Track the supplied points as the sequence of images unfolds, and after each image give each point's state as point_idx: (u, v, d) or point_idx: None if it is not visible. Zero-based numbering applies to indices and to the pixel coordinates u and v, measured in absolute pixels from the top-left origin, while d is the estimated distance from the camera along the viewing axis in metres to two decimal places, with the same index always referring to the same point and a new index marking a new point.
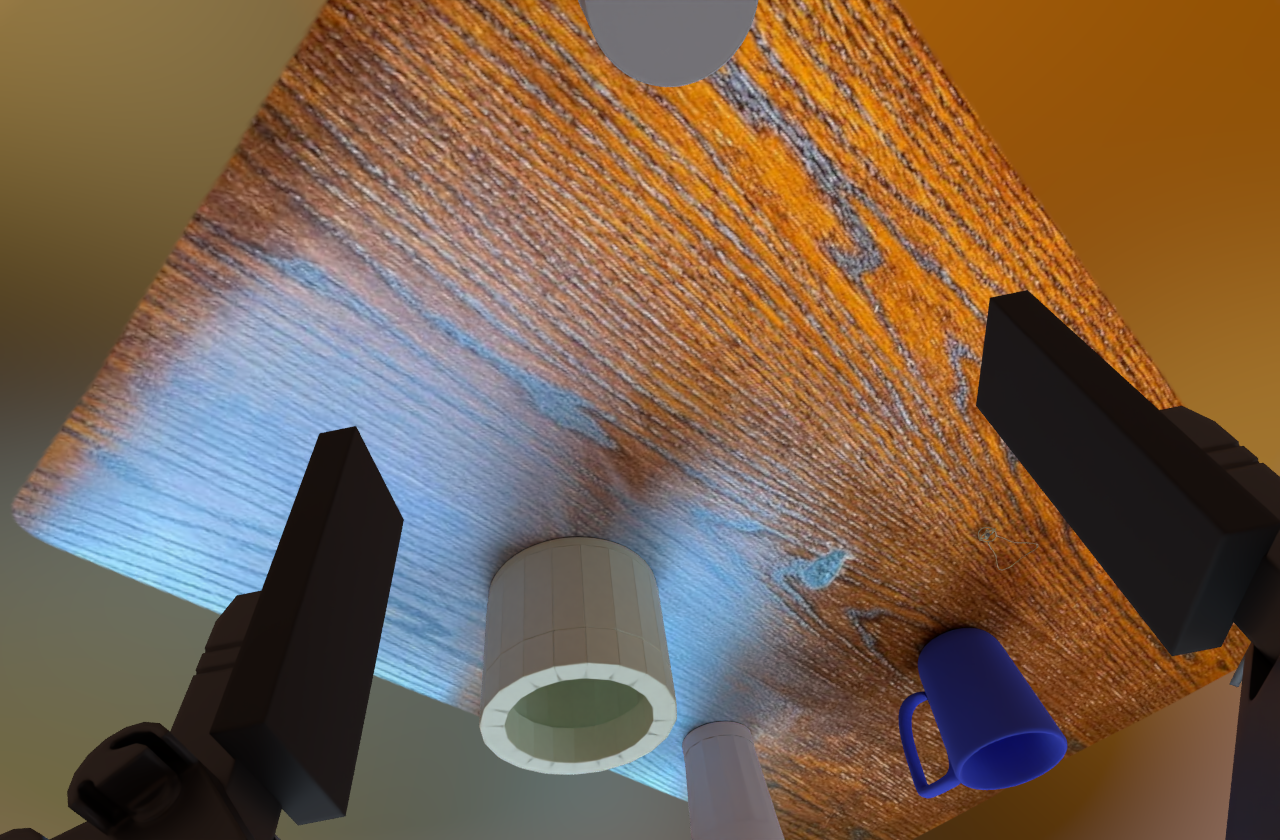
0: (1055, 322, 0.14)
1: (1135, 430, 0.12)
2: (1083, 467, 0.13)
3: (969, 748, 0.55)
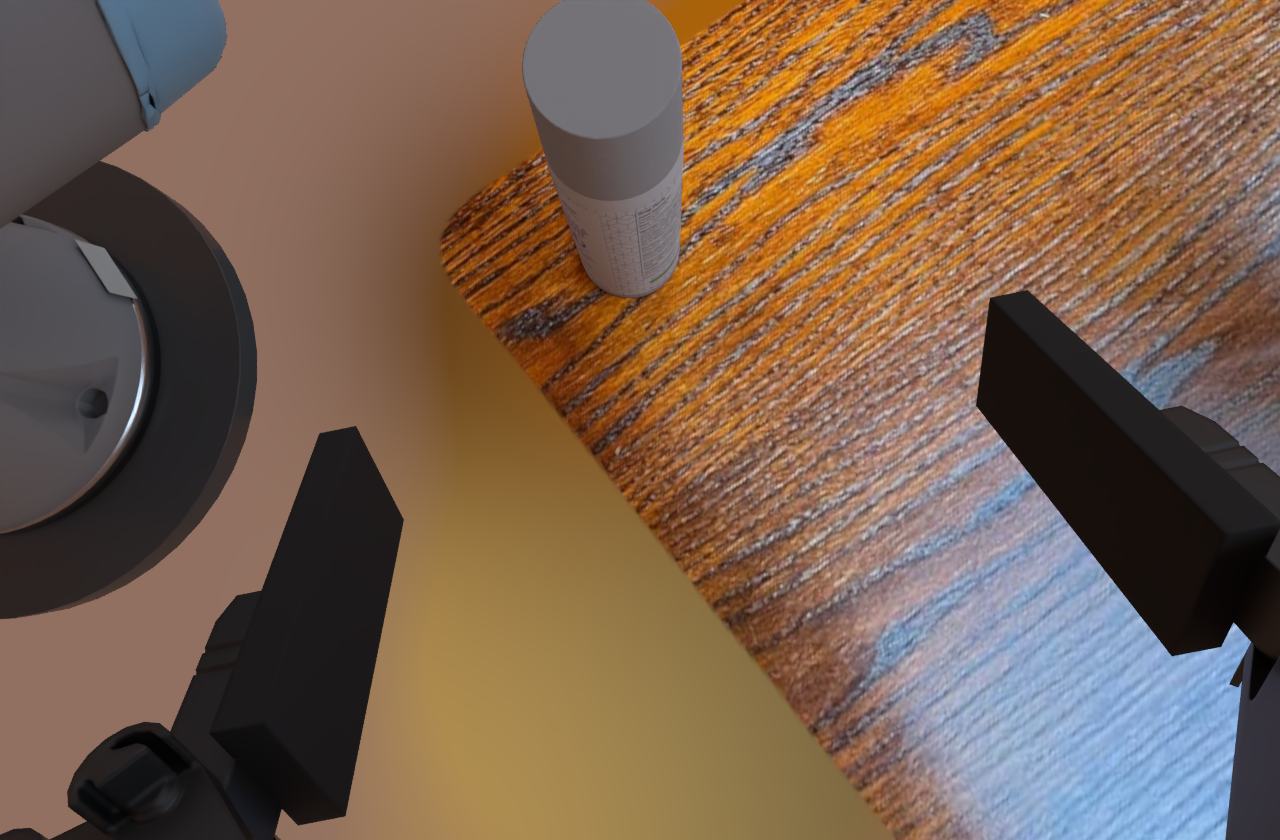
0: (1055, 322, 0.14)
1: (1135, 430, 0.12)
2: (1083, 467, 0.13)
3: None
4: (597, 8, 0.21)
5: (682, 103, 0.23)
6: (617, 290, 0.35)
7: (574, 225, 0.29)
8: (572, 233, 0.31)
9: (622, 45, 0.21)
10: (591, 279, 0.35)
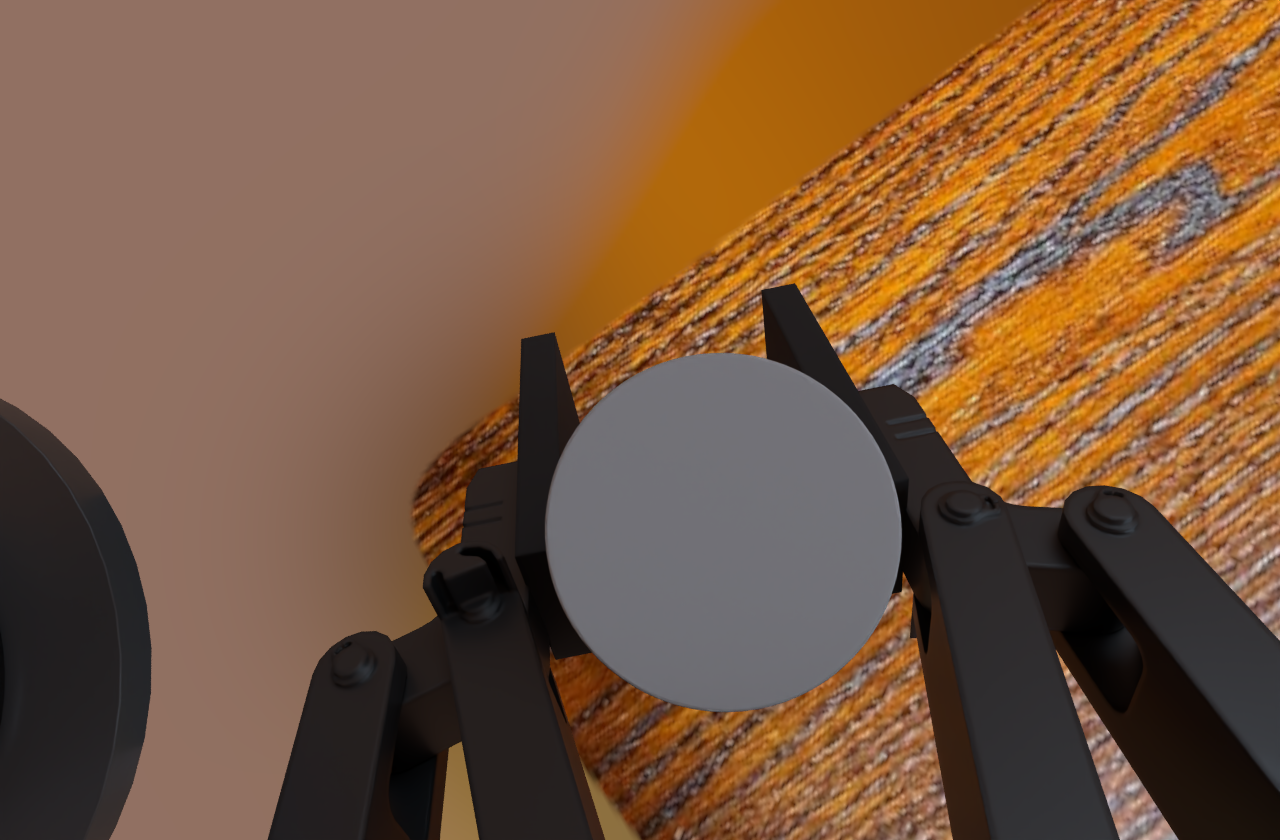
0: (805, 311, 0.16)
1: None
2: None
3: None
4: (708, 397, 0.10)
5: None
6: None
7: None
8: None
9: (767, 486, 0.09)
10: None
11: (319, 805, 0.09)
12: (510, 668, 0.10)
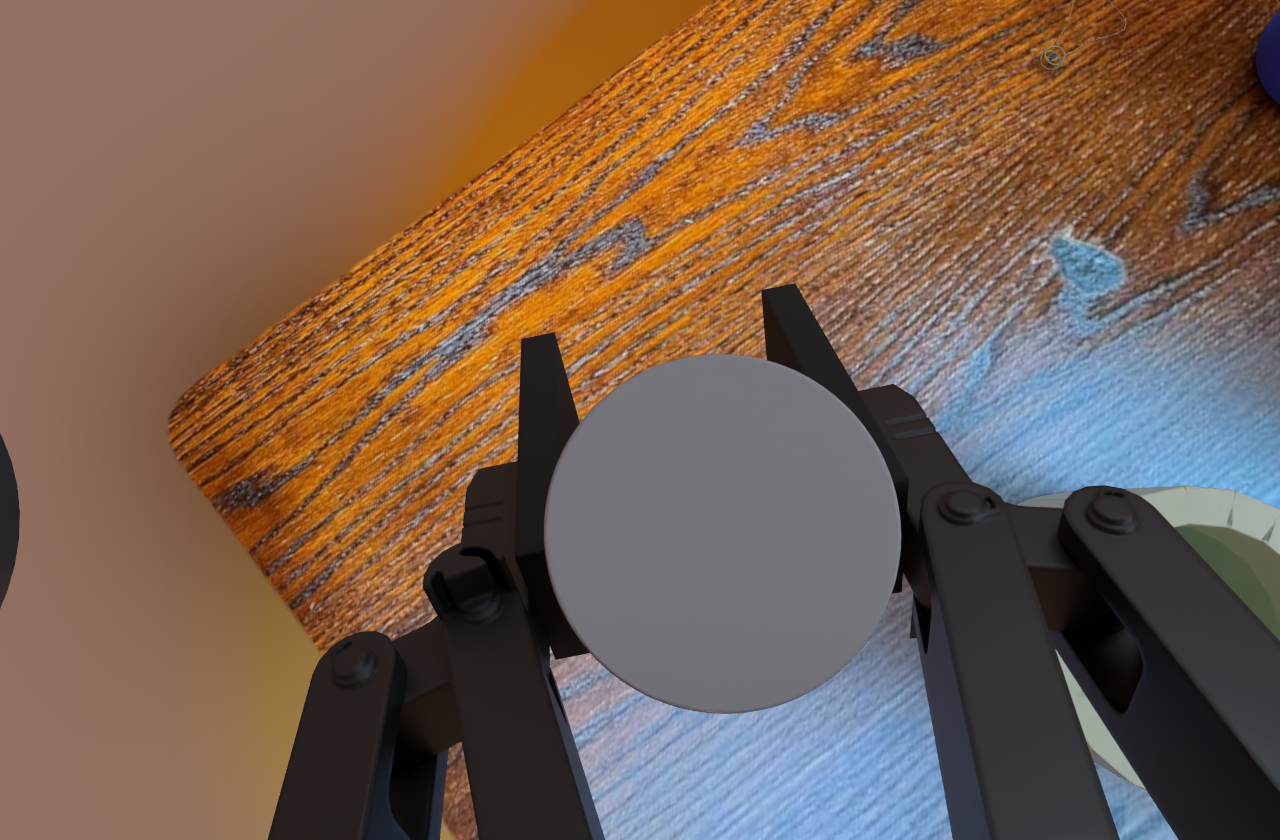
0: (805, 311, 0.16)
1: None
2: None
3: None
4: (708, 398, 0.10)
5: None
6: None
7: None
8: None
9: (766, 488, 0.09)
10: None
11: (319, 805, 0.09)
12: (510, 668, 0.10)
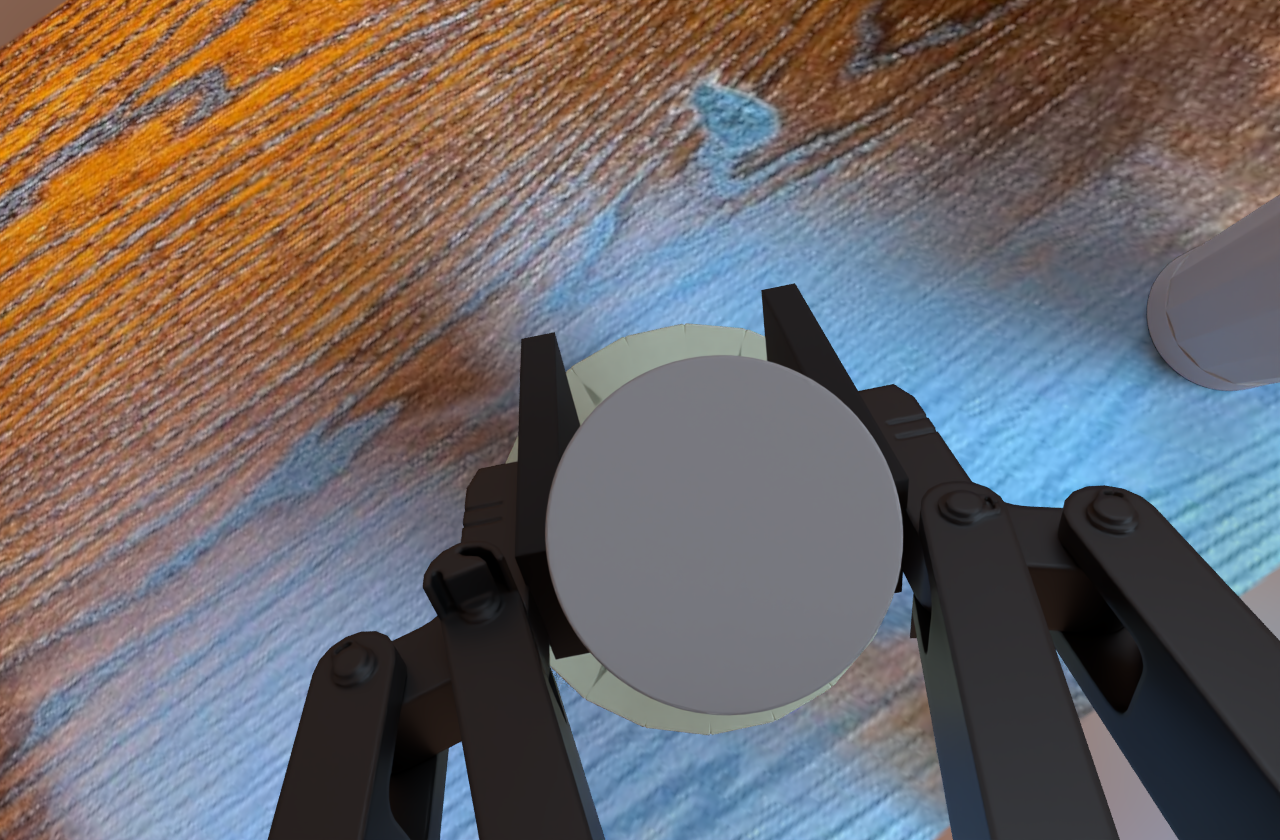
0: (805, 311, 0.16)
1: None
2: None
3: None
4: (710, 400, 0.10)
5: None
6: None
7: None
8: None
9: (768, 489, 0.09)
10: None
11: (319, 805, 0.09)
12: (510, 668, 0.10)
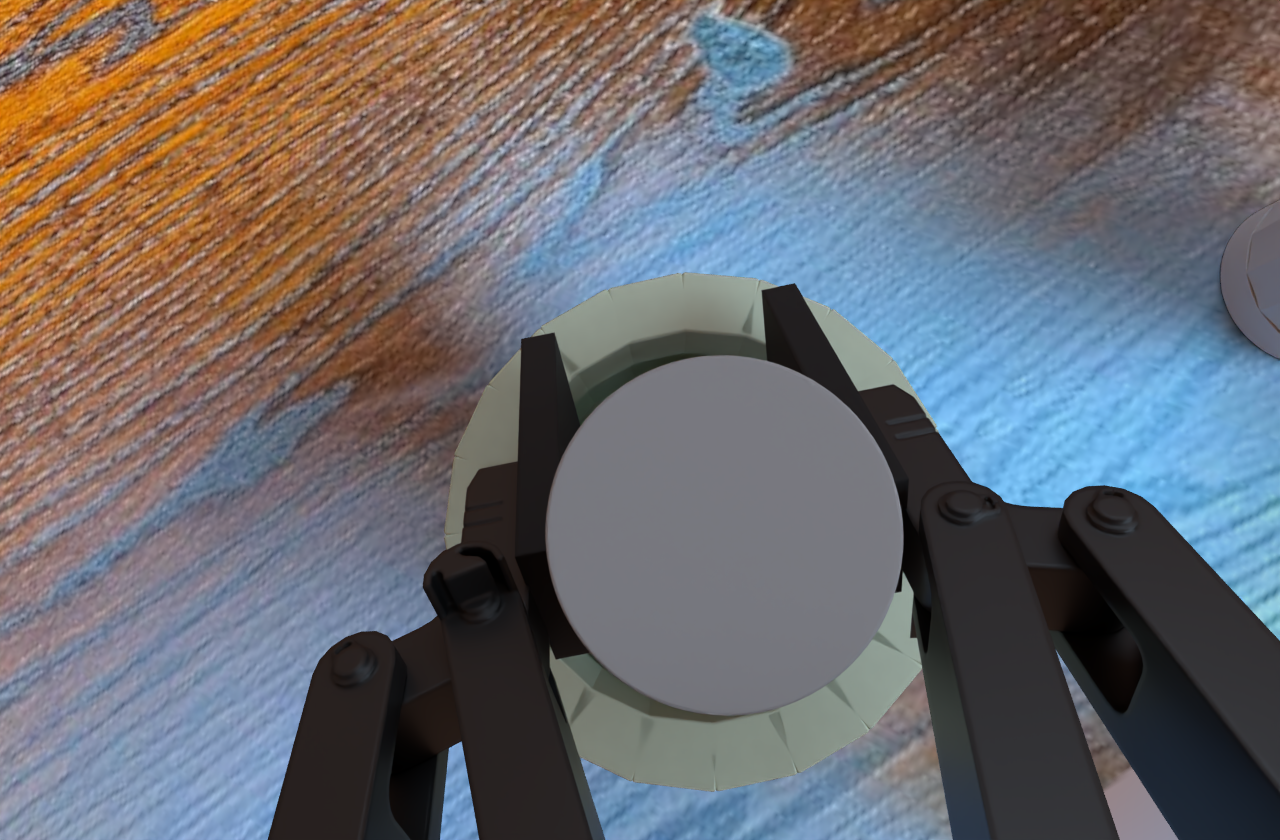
0: (805, 311, 0.16)
1: None
2: None
3: None
4: (710, 400, 0.10)
5: None
6: None
7: None
8: None
9: (769, 489, 0.09)
10: None
11: (319, 805, 0.09)
12: (510, 668, 0.10)
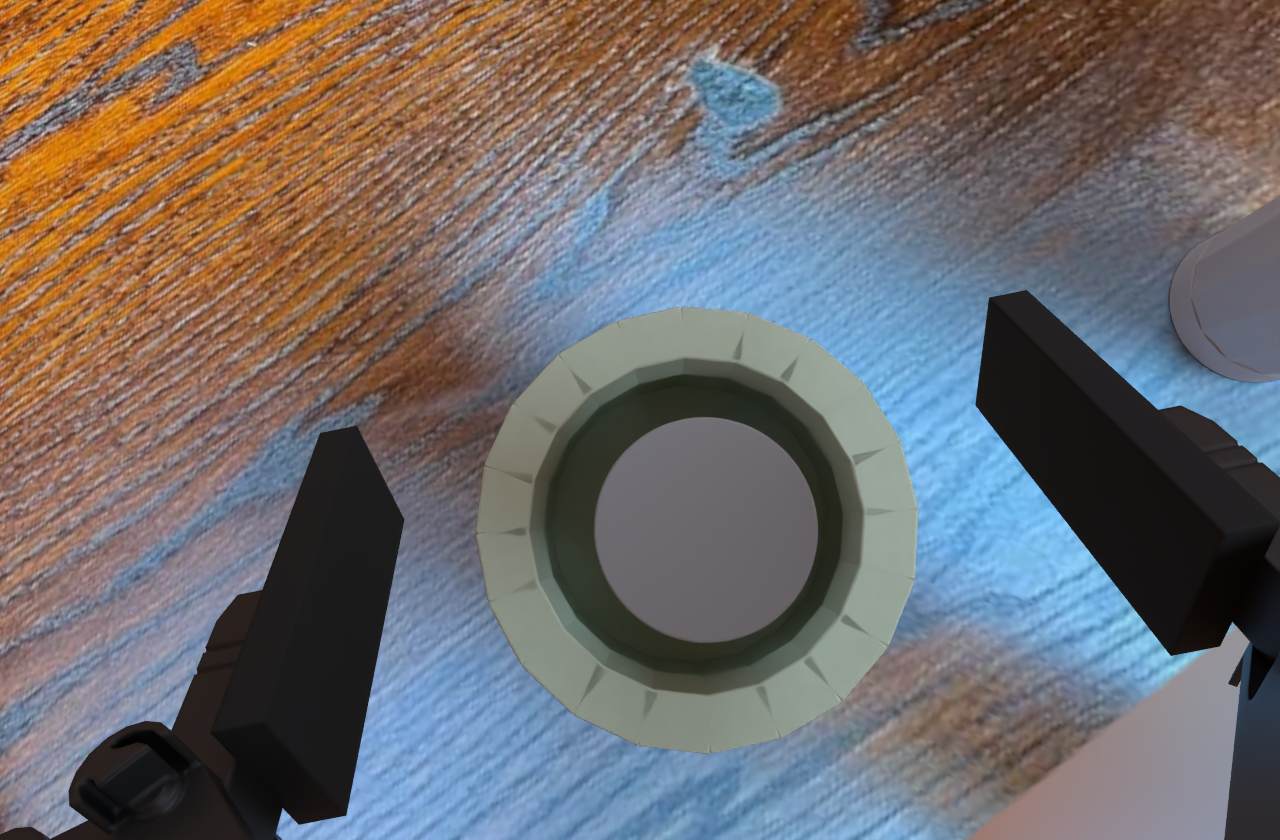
0: (1054, 322, 0.14)
1: (1134, 430, 0.12)
2: (1083, 466, 0.13)
3: None
4: (697, 446, 0.15)
5: None
6: None
7: None
8: None
9: (734, 502, 0.15)
10: None
11: None
12: None
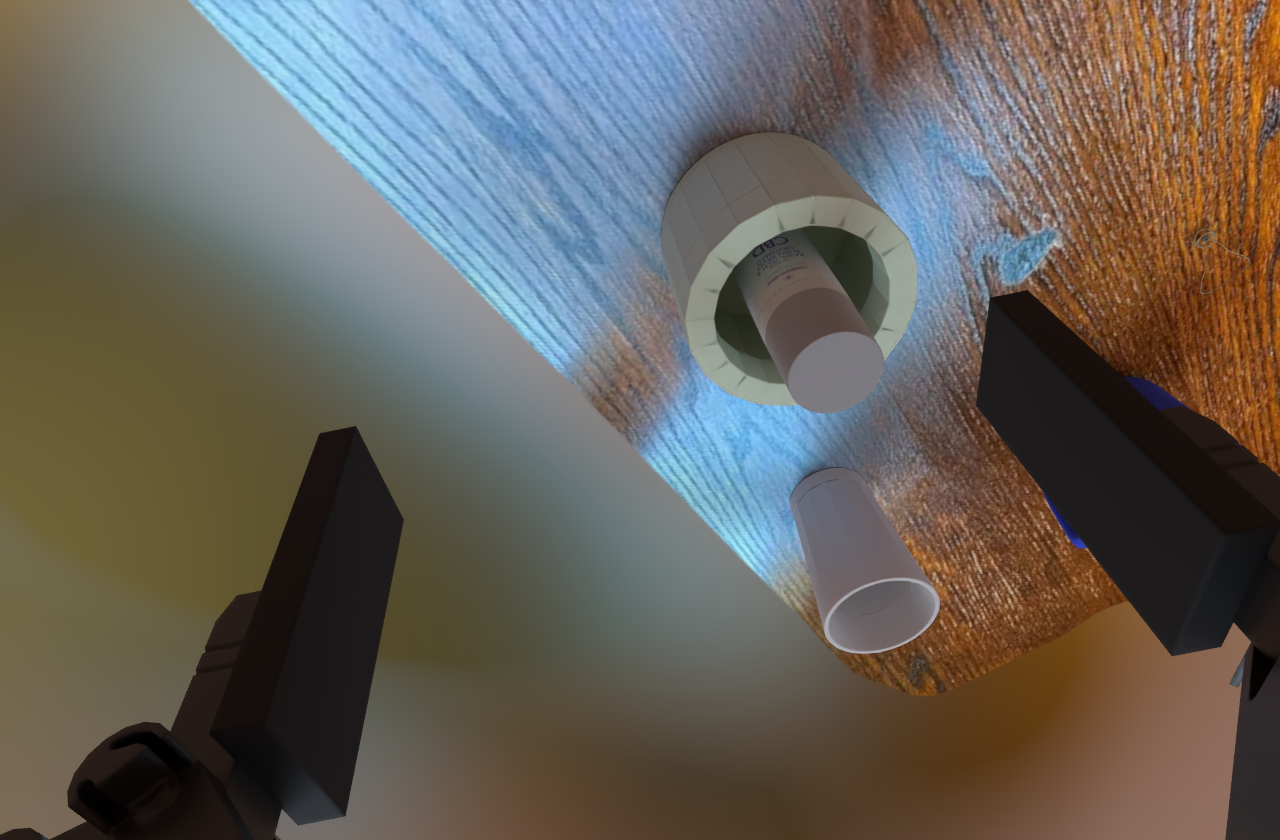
0: (1055, 322, 0.14)
1: (1135, 430, 0.12)
2: (1083, 466, 0.13)
3: None
4: (871, 369, 0.34)
5: None
6: None
7: (764, 265, 0.39)
8: (765, 242, 0.41)
9: (844, 384, 0.35)
10: None
11: None
12: None
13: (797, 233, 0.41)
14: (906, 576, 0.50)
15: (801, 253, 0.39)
